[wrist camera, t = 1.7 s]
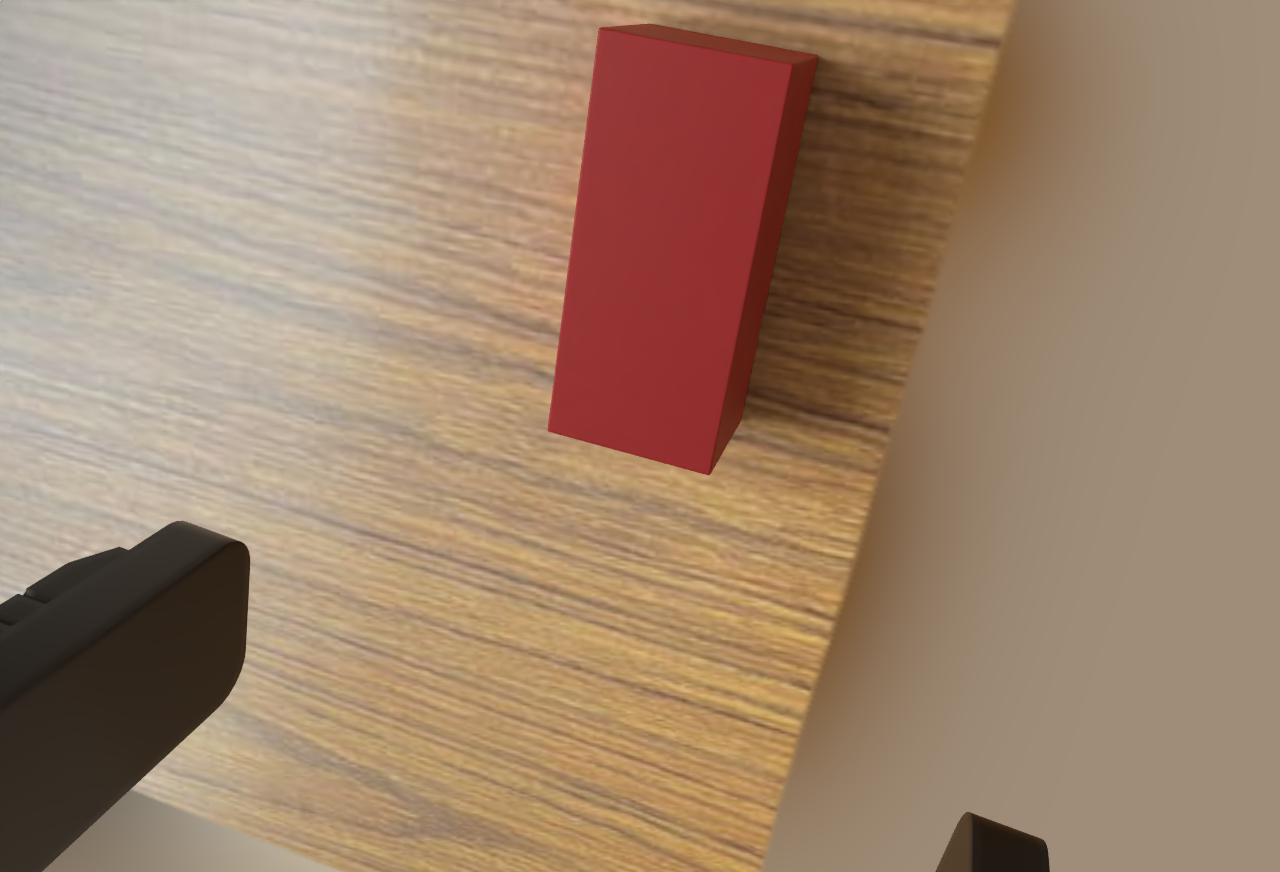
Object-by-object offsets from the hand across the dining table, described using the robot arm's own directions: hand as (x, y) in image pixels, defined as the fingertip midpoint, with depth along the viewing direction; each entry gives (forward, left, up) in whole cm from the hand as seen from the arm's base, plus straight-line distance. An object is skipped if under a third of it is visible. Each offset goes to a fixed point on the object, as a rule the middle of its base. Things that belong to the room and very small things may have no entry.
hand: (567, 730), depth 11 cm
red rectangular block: (+1, -3, -16) cm, 17 cm away
